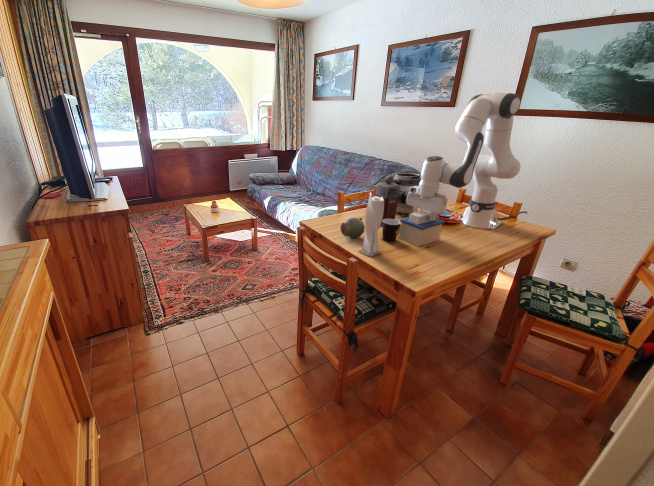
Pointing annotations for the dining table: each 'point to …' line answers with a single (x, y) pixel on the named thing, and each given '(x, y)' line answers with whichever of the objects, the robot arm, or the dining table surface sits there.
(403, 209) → the ceramic pot
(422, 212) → the case
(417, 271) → the dining table surface
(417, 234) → the container
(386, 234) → the coffee mug
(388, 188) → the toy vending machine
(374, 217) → the skyscraper
